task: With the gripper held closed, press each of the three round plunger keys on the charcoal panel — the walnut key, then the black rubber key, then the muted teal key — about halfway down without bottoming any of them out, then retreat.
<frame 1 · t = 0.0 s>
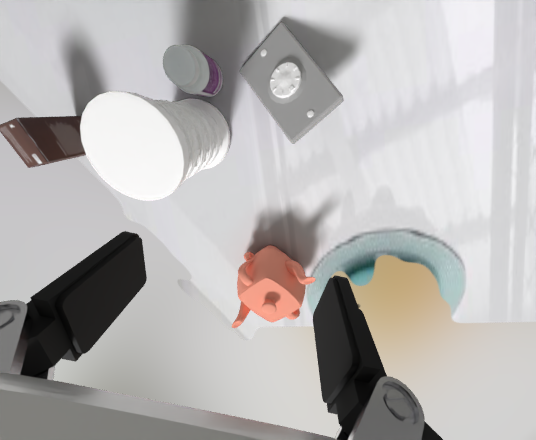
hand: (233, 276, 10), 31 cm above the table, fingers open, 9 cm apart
teapot: (272, 265, 50), on the table
decorative container: (199, 135, 37), on the table
pill bottle: (207, 78, 33), on the table
light switch: (287, 87, 33), on the table
box: (95, 135, 39), on the table
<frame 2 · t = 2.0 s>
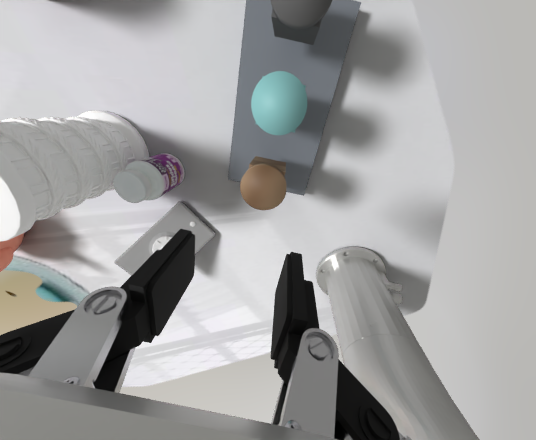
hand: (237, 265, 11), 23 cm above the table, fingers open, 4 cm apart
teapot: (4, 219, 42), on the table
decorative container: (115, 151, 33), on the table
panel: (282, 108, 28), on the table
pill bottle: (170, 169, 34), on the table
light switch: (179, 234, 40), on the table
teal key: (280, 106, 21), point 8 cm above the table, slide at 0.0 cm
walnut key: (265, 180, 25), point 8 cm above the table, slide at 0.0 cm
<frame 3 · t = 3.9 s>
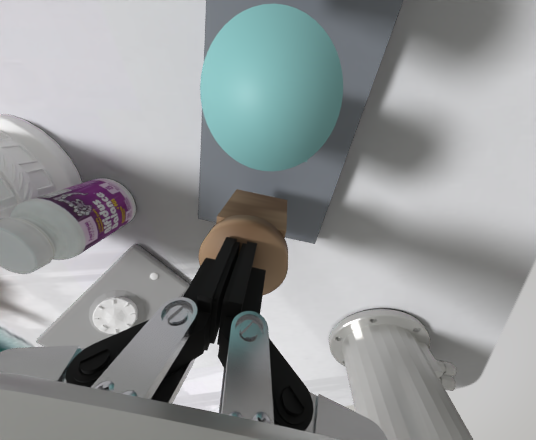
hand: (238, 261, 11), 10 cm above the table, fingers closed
decorative container: (32, 173, 22), on the table
panel: (281, 109, 17), on the table
pill bottle: (115, 199, 23), on the table
light switch: (141, 285, 29), on the table
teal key: (275, 104, 10), point 8 cm above the table, slide at 0.0 cm
walnut key: (251, 236, 14), point 7 cm above the table, slide at 0.5 cm, touching gripper
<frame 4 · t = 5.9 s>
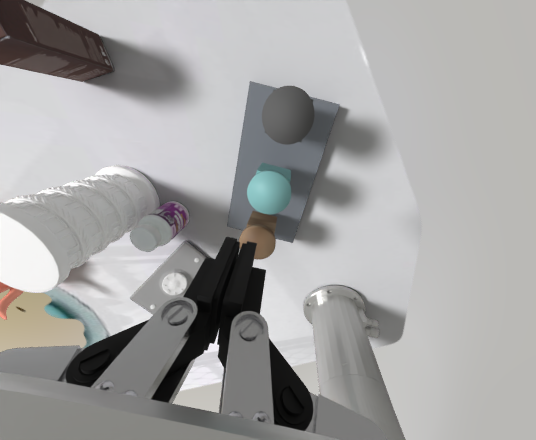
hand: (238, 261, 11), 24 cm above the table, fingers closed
teapot: (23, 245, 46), on the table
decorative container: (129, 196, 38), on the table
panel: (275, 172, 33), on the table
pill bottle: (177, 213, 38), on the table
black key: (288, 117, 22), point 8 cm above the table, slide at 0.0 cm
light switch: (185, 268, 44), on the table
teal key: (271, 186, 26), point 8 cm above the table, slide at 0.0 cm
box: (91, 58, 29), on the table
walnut key: (259, 233, 31), point 6 cm above the table, slide at 1.6 cm
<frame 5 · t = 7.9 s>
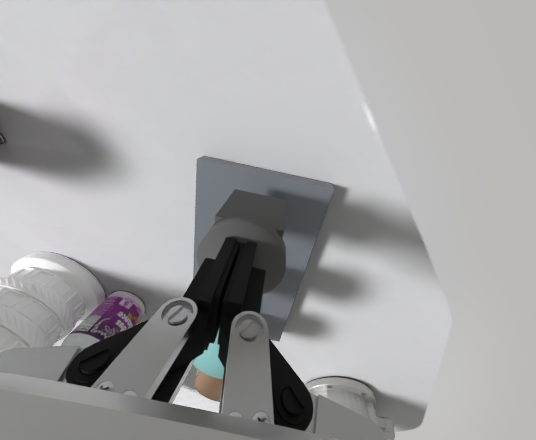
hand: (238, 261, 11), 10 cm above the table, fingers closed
decorative container: (66, 283, 29), on the table
panel: (249, 261, 24), on the table
pill bottle: (129, 301, 30), on the table
black key: (249, 236, 14), point 7 cm above the table, slide at 0.9 cm, touching gripper
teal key: (233, 322, 17), point 8 cm above the table, slide at 0.0 cm
walnut key: (228, 356, 22), point 6 cm above the table, slide at 1.6 cm
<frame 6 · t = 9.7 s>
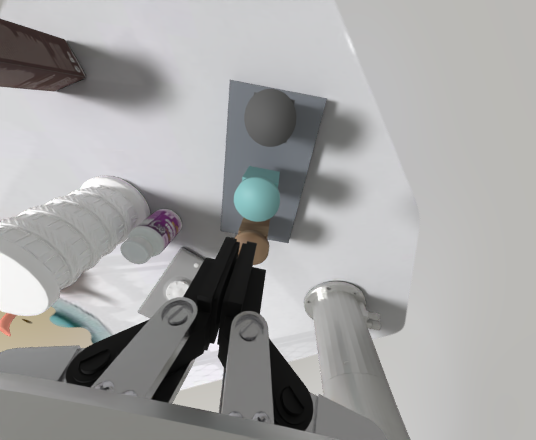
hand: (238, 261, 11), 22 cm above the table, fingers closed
teapot: (19, 260, 46), on the table
decorative container: (119, 206, 37), on the table
panel: (265, 173, 32), on the table
pill bottle: (169, 220, 37), on the table
black key: (271, 118, 22), point 6 cm above the table, slide at 1.6 cm
light switch: (188, 274, 44), on the table
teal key: (259, 191, 25), point 8 cm above the table, slide at 0.0 cm
box: (60, 66, 27), on the table
walnut key: (252, 238, 30), point 6 cm above the table, slide at 1.6 cm
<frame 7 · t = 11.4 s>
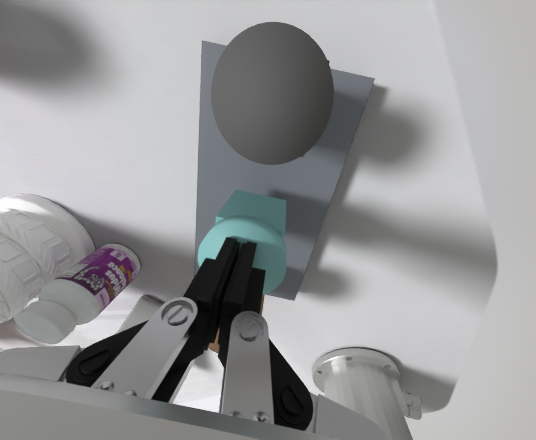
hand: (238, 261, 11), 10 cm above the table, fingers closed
decorative container: (50, 236, 25), on the table
panel: (262, 199, 20), on the table
pill bottle: (122, 258, 26), on the table
black key: (275, 106, 11), point 6 cm above the table, slide at 1.6 cm
light switch: (157, 327, 32), on the table
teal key: (250, 236, 14), point 7 cm above the table, slide at 0.8 cm, touching gripper
walnut key: (238, 305, 18), point 6 cm above the table, slide at 1.6 cm
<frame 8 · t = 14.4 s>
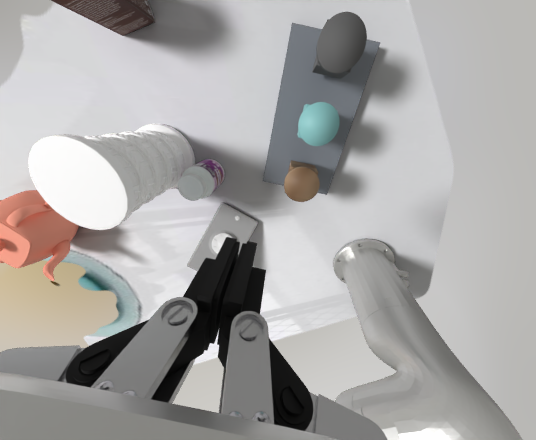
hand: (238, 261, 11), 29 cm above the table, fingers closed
teapot: (59, 215, 47), on the table
decorative container: (165, 157, 39), on the table
panel: (311, 122, 34), on the table
pill bottle: (212, 172, 39), on the table
black key: (335, 51, 24), point 6 cm above the table, slide at 1.6 cm
light switch: (228, 232, 46), on the table
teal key: (315, 124, 28), point 6 cm above the table, slide at 1.6 cm
box: (132, 11, 29), on the table
walnut key: (300, 179, 32), point 6 cm above the table, slide at 1.6 cm
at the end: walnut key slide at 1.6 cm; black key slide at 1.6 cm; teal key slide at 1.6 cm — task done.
